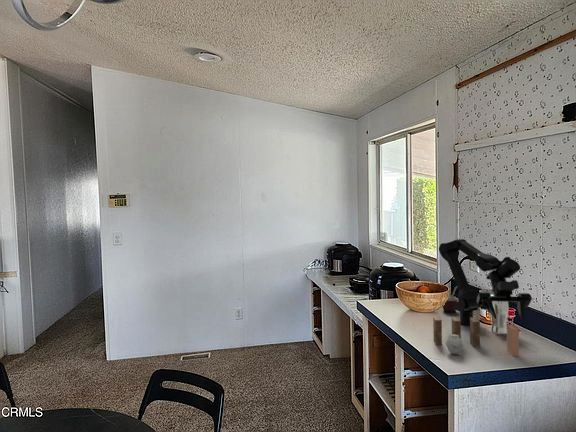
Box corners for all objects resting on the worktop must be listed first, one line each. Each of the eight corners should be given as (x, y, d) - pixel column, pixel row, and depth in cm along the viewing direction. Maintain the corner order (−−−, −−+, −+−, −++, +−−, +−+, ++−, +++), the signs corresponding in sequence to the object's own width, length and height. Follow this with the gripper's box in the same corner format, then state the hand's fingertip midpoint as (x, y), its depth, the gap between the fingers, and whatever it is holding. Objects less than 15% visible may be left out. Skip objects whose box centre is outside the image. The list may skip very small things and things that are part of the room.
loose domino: (511, 355, 144) (511, 329, 143) (507, 350, 149) (506, 324, 148) (518, 356, 143) (518, 329, 143) (513, 350, 148) (513, 324, 148)
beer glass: (506, 330, 171) (506, 295, 170) (509, 335, 164) (509, 300, 163) (488, 328, 173) (488, 295, 172) (491, 334, 166) (491, 299, 166)
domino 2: (454, 345, 155) (454, 320, 154) (451, 341, 160) (451, 316, 159) (460, 346, 154) (460, 321, 154) (458, 341, 159) (458, 317, 159)
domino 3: (473, 346, 153) (473, 321, 153) (470, 342, 158) (470, 317, 158) (480, 347, 153) (479, 321, 152) (476, 342, 158) (476, 317, 157)
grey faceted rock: (461, 350, 150) (461, 332, 150) (465, 358, 143) (465, 339, 143) (444, 349, 152) (444, 331, 151) (447, 356, 145) (447, 338, 144)
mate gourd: (440, 310, 202) (439, 281, 202) (455, 309, 202) (455, 280, 201) (445, 314, 195) (445, 284, 194) (461, 314, 195) (461, 284, 194)
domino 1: (435, 344, 156) (435, 320, 156) (433, 340, 161) (433, 316, 161) (441, 345, 156) (441, 320, 155) (439, 340, 161) (439, 316, 160)
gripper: (478, 272, 157) (486, 307, 146) (530, 272, 153) (542, 309, 142) (473, 287, 165) (480, 321, 154) (522, 288, 161) (533, 323, 151)
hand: (508, 318), depth 150 cm, fingers open, 9 cm apart
